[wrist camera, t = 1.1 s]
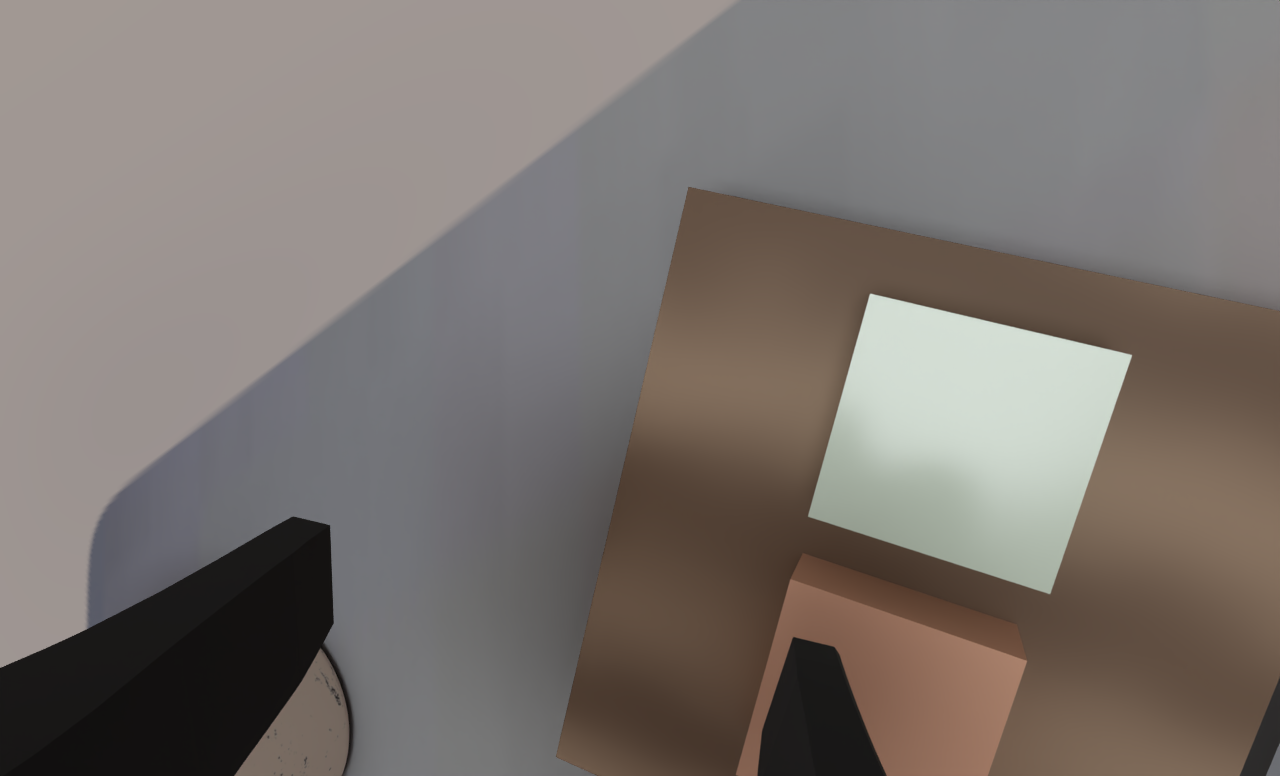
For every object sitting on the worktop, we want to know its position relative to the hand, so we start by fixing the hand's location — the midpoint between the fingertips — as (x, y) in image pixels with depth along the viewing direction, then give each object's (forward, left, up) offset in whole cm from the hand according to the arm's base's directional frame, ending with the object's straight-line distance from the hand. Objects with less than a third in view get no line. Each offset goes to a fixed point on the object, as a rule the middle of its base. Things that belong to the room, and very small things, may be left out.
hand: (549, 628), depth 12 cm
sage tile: (+3, -5, -9) cm, 11 cm away
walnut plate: (-1, -5, -12) cm, 13 cm away
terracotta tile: (-3, -5, -9) cm, 11 cm away
